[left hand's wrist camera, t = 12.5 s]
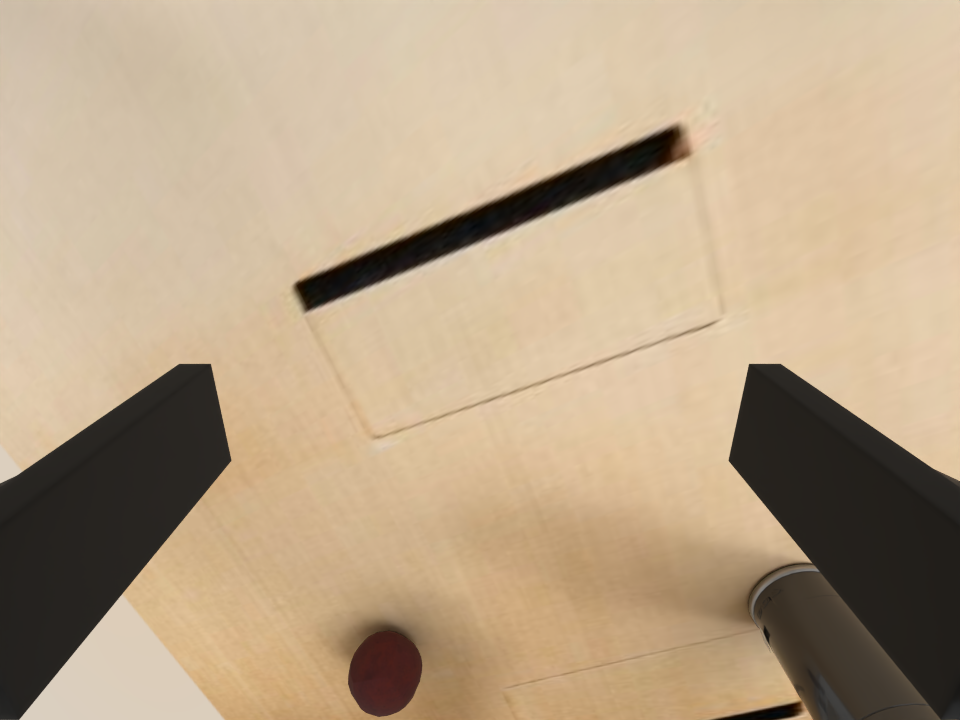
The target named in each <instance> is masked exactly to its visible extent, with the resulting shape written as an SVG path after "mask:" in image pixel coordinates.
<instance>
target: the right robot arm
mask: <svg viewBox="0 0 960 720" xmlns="http://www.w3.org/2000/svg"><path fill="white" fill-rule="evenodd" d="M748 607H749V613H750V615H751V617H752V619H753V620H754V622H755V624H756V625H757V627H758V628H759V629H760V631H761V633H762V636H763V639H764V642H765V644H766V646H767V647H768V649H769V646H768V644H769V645H770V647H771V649H772V651H773V653H774V654H775V656H776V658H777V659H778V661H779V663H780V664H781V666H782V668H783V670H784V671H785V673H786V675H787V676H788V678H789V680H790V681H791V683H792V685H793V686H794V688H795V690H796V691H797V693H798V695H799V697H800V698H801V700H802V702H803V703H804V705H805V707H806V708H807V710H808V712H809V713H810V715H811V717H812V718H813V720H941V719H940V718H939V717H938V716H937V714H936V713H935V712H934V711H933V709H932V708H931V707H930V706H929V705H928V703H927V702H926V701H925V700H924V698H923V697H922V696H921V695H920V694H919V692H918V691H917V690H916V689H915V687H914V686H913V685H912V684H911V683H910V681H909V680H908V679H907V678H906V676H905V675H904V674H903V673H902V672H901V670H900V669H899V668H898V667H897V666H896V664H895V663H894V662H893V661H892V659H891V658H890V657H889V656H888V655H887V653H886V652H885V651H884V650H883V648H882V647H881V646H880V645H879V644H878V642H877V641H876V640H875V639H874V637H873V636H872V635H871V634H870V633H869V631H868V630H867V629H866V628H865V626H864V625H863V624H862V623H861V622H860V620H859V619H858V618H857V617H856V615H855V614H854V613H853V612H852V611H851V609H850V608H849V607H848V606H847V605H846V603H845V602H844V601H843V600H842V598H841V597H840V596H839V595H838V594H837V592H836V591H835V590H834V589H833V587H832V586H831V585H830V584H829V583H828V581H827V580H826V579H825V578H824V576H823V575H822V574H821V573H820V572H819V570H818V569H817V568H816V567H815V565H810V564H799V565H793V566H788V567H785V568H782V569H779V570H777V571H775V572H773V573H771V574H770V575H768V576H767V577H765V578H764V579H763V580H762V581H761V582H760V583H759V584H758V585H757V586H756V587H755V588H754V590H753V592H752V593H751V596H750V599H749V605H748ZM767 642H768V643H767ZM769 651H770V649H769Z"/></svg>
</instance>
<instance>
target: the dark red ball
mask: <svg viewBox="0 0 960 720" xmlns="http://www.w3.org/2000/svg"><path fill="white" fill-rule="evenodd" d="M421 673H422V660H421V656H420V653H419V651H418V649H417V648H416V646H415V645H414V644H413V643H412V642H411V641H410V640H408V639H407V638H406V637H404V636H402V635H400V634H398V633H396V632H392V631H383V632H378V633H375V634H373V635H371V636H369V637H368V638H367V639H366V640H365V641H364V642H363V643H362V644H361V645H360V646H359V648H358V649H357V651H356V652H355V654H354V656H353V659H352V661H351V664H350V670H349V675H348V685H349V688H350V691H351V694H352V696H353V697H354V699H355V700H356V702H357V703H358V705H359V707H360V708H361V709H362V710H363V711H364V712H366V713H368V714H371V715H374V716H378V717H381V716H388V715H391V714H394V713H396V712H399V711H400V710H402V709H403V708H404V707H405V706H406V705H407V704H408V703H409V702H410V700H411V699H412V698H413V696H414V693H415V691H416V689H417V686H418V684H419V682H420V678H421Z"/></svg>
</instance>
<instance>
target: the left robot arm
mask: <svg viewBox="0 0 960 720" xmlns="http://www.w3.org/2000/svg"><path fill="white" fill-rule="evenodd" d="M230 462H231V456H230V452H229V447H228V442H227V438H226V433H225V428H224V424H223V419H222V414H221V410H220V405H219V400H218V395H217V391H216V386H215V381H214V377H213V372H212V367H211V364H179V365H177V366H176V367H174V368H173V369H171V370H170V371H168V372H167V373H166V374H164V375H163V376H161V377H160V378H158V379H157V380H155V381H154V382H152V383H151V384H150V385H148V386H147V387H145V388H144V389H142V390H141V391H139V392H138V393H136V394H135V395H134V396H132V397H131V398H129V399H128V400H126V401H125V402H123V403H122V404H120V405H119V406H118V407H116V408H115V409H113V410H112V411H110V412H109V413H107V414H106V415H104V416H103V417H102V418H100V419H99V420H97V421H96V422H94V423H93V424H91V425H90V426H88V427H87V428H86V429H84V430H83V431H81V432H80V433H78V434H77V435H75V436H74V437H72V438H71V439H70V440H68V441H67V442H65V443H64V444H62V445H61V446H59V447H58V448H56V449H55V450H54V451H52V452H51V453H49V454H48V455H46V456H45V457H43V458H42V459H40V460H39V461H38V462H36V463H35V464H33V465H32V466H30V467H29V468H27V469H26V470H24V471H23V472H22V473H20V474H19V475H17V476H15V477H13V478H11V479H9V480H7V481H5V482H3V483H0V720H19V719H20V718H21V717H22V716H23V714H24V713H25V712H26V711H27V709H28V708H29V707H30V706H31V705H32V703H33V702H34V701H35V700H36V698H37V697H38V696H39V695H40V694H41V692H42V691H43V690H44V689H45V687H46V686H47V685H48V684H49V683H50V681H51V680H52V679H53V678H54V676H55V675H56V674H57V673H58V672H59V670H60V669H61V668H62V667H63V666H64V664H65V663H66V662H67V661H68V659H69V658H70V657H71V656H72V655H73V653H74V652H75V651H76V650H77V648H78V647H79V646H80V645H81V644H82V642H83V641H84V640H85V639H86V637H87V636H88V635H89V634H90V632H91V631H92V630H93V629H94V628H95V626H96V625H97V624H98V623H99V622H100V620H101V619H102V618H103V617H104V615H105V614H106V613H107V612H108V611H109V609H110V608H111V607H112V606H113V605H114V603H115V602H116V601H117V600H118V598H119V597H120V596H121V595H122V594H123V592H124V591H125V590H126V589H127V587H128V586H129V585H130V584H131V583H132V581H133V580H134V579H135V578H136V576H137V575H138V574H139V573H140V572H141V570H142V569H143V568H144V567H145V565H146V564H147V563H148V562H149V561H150V559H151V558H152V557H153V556H154V554H155V553H156V552H157V551H158V550H159V548H160V547H161V546H162V545H163V544H164V542H165V541H166V540H167V539H168V537H169V536H170V535H171V534H172V533H173V531H174V530H175V529H176V528H177V526H178V525H179V524H180V523H181V522H182V520H183V519H184V518H185V517H186V515H187V514H188V513H189V512H190V511H191V509H192V508H193V507H194V506H195V504H196V503H197V502H198V501H199V500H200V498H201V497H202V496H203V495H204V493H205V492H206V491H207V490H208V489H209V487H210V486H211V485H212V484H213V483H214V481H215V480H216V479H217V478H218V476H219V475H220V474H221V473H222V472H223V470H224V469H225V468H226V467H227V465H228V464H229V463H230ZM729 462H730V463H731V464H732V465H733V467H734V468H735V469H736V470H737V472H738V473H739V474H740V475H741V476H742V478H743V479H744V480H745V481H746V483H747V484H748V485H749V486H750V487H751V489H752V490H753V491H754V492H755V493H756V495H757V496H758V497H759V498H760V500H761V501H762V502H763V503H764V504H765V506H766V507H767V508H768V509H769V511H770V512H771V513H772V514H773V515H774V517H775V518H776V519H777V520H778V522H779V523H780V524H781V525H782V526H783V528H784V529H785V530H786V531H787V533H788V534H789V535H790V536H791V537H792V539H793V540H794V541H795V542H796V544H797V545H798V546H799V547H800V548H801V550H802V551H803V552H804V553H805V554H806V556H807V557H808V558H809V559H810V561H811V562H812V563H813V564H814V565H815V567H816V568H817V569H818V570H819V572H820V573H821V574H822V575H823V576H824V578H825V579H826V580H827V581H828V583H829V584H830V585H831V586H832V587H833V589H834V590H835V591H836V592H837V594H838V595H839V596H840V597H841V598H842V600H843V601H844V602H845V603H846V605H847V606H848V607H849V608H850V609H851V611H852V612H853V613H854V614H855V615H856V617H857V618H858V619H859V620H860V622H861V623H862V624H863V625H864V626H865V628H866V629H867V630H868V631H869V633H870V634H871V635H872V636H873V637H874V639H875V640H876V641H877V642H878V644H879V645H880V646H881V647H882V648H883V650H884V651H885V652H886V653H887V655H888V656H889V657H890V658H891V659H892V661H893V662H894V663H895V664H896V666H897V667H898V668H899V669H900V670H901V672H902V673H903V674H904V675H905V676H906V678H907V679H908V680H909V681H910V683H911V684H912V685H913V686H914V687H915V689H916V690H917V691H918V692H919V694H920V695H921V696H922V697H923V698H924V700H925V701H926V702H927V703H928V705H929V706H930V707H931V708H932V709H933V711H934V712H935V713H936V714H937V716H938V717H939V718H940V719H941V720H960V481H958V480H956V479H954V478H952V477H950V476H947V475H945V474H943V473H941V472H939V471H937V470H935V469H933V468H931V467H930V466H928V465H927V464H925V463H924V462H922V461H921V460H920V459H918V458H917V457H915V456H914V455H912V454H911V453H909V452H908V451H906V450H905V449H904V448H902V447H901V446H899V445H898V444H896V443H895V442H893V441H892V440H890V439H889V438H888V437H886V436H885V435H883V434H882V433H880V432H879V431H877V430H876V429H874V428H873V427H872V426H870V425H869V424H867V423H866V422H864V421H863V420H861V419H860V418H858V417H857V416H856V415H854V414H853V413H851V412H850V411H848V410H847V409H845V408H844V407H842V406H841V405H840V404H838V403H837V402H835V401H834V400H832V399H831V398H829V397H828V396H826V395H825V394H824V393H822V392H821V391H819V390H818V389H816V388H815V387H813V386H812V385H810V384H809V383H808V382H806V381H805V380H803V379H802V378H800V377H799V376H797V375H796V374H794V373H793V372H792V371H790V370H789V369H787V368H786V367H784V366H783V365H781V364H749V367H748V372H747V377H746V381H745V386H744V391H743V395H742V400H741V405H740V410H739V414H738V419H737V424H736V428H735V433H734V438H733V442H732V447H731V452H730V456H729Z"/></svg>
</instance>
